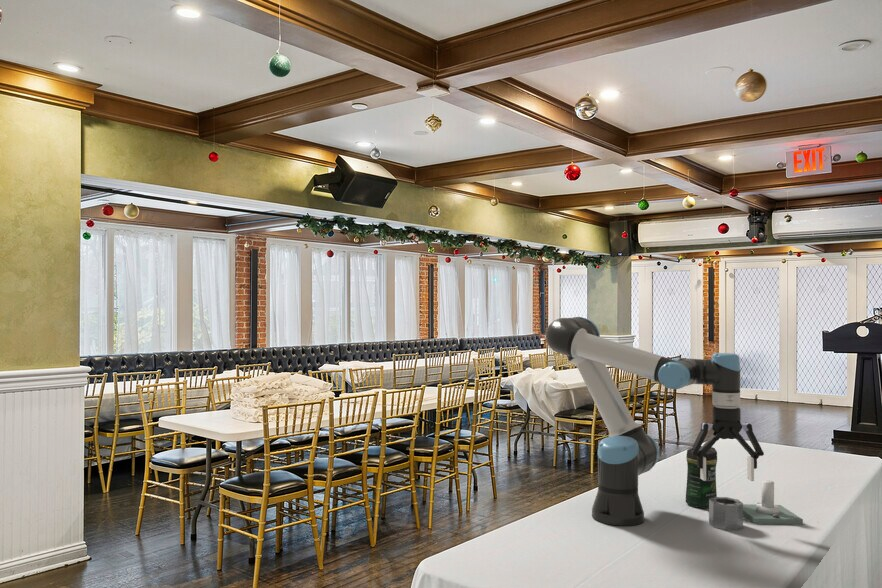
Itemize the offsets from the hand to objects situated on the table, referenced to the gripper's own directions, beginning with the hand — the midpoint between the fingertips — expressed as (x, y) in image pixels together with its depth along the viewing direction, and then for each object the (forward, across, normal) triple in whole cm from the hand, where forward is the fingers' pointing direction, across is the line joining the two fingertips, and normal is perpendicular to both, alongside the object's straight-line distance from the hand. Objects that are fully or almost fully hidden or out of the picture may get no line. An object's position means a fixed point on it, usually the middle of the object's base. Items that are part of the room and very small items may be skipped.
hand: (727, 479), depth 197 cm
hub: (+13, 0, 0) cm, 13 cm away
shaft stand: (+13, +16, +9) cm, 23 cm away
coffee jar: (+13, 0, +20) cm, 24 cm away
